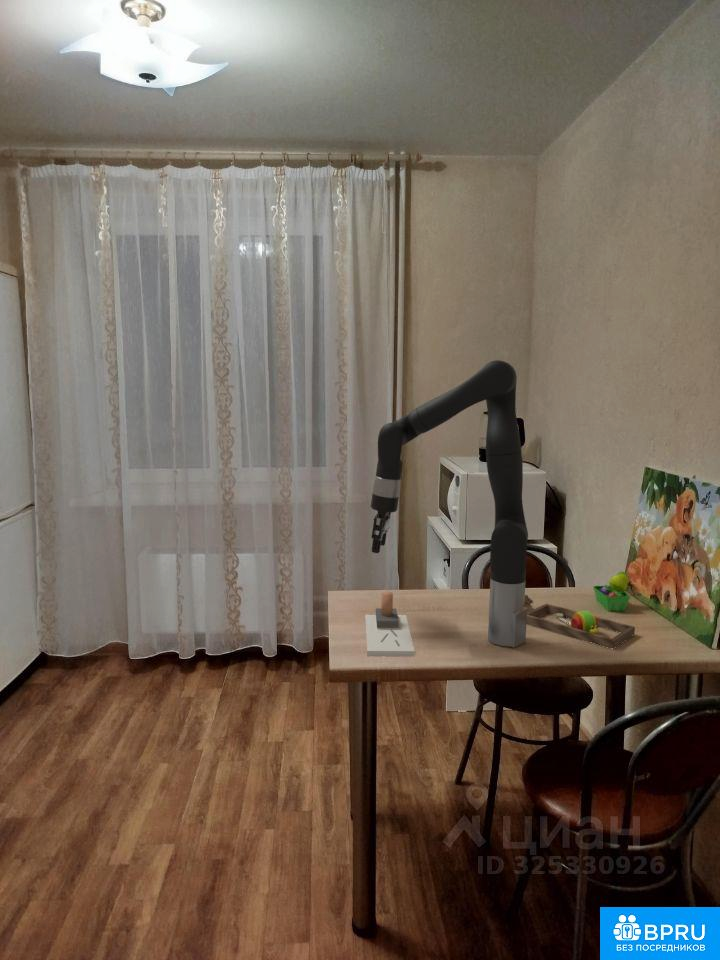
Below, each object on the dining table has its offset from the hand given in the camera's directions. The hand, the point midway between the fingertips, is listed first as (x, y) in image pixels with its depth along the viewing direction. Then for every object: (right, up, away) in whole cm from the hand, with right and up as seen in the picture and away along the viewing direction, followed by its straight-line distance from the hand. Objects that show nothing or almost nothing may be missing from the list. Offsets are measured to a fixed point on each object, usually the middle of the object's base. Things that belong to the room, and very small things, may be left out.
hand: (378, 548), depth 185 cm
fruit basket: (+74, -21, +21) cm, 80 cm away
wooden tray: (+57, -23, +1) cm, 61 cm away
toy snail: (+57, -24, +2) cm, 61 cm away
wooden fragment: (+45, -20, +24) cm, 55 cm away
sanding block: (+2, -21, +1) cm, 21 cm away
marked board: (+3, -24, -6) cm, 24 cm away
